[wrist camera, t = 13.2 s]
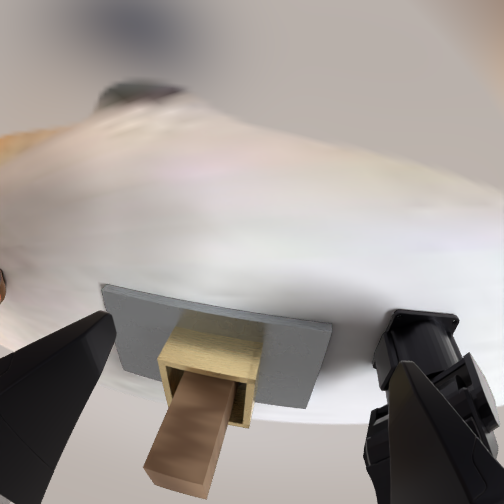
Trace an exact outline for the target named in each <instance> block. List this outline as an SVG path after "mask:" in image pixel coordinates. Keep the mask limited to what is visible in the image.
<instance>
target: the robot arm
mask: <svg viewBox="0 0 504 504" xmlns="http://www.w3.org/2000/svg"><path fill="white" fill-rule="evenodd" d="M398 316H401V317H398ZM454 320H455V321H454ZM453 321H454V322H453ZM458 324H459V318H458V317H457V316H456V315H448V314H437V313H426V312H416V311H406V310H398V311H396V312H394V314H393V316H392V319H391V321H390V323H389V326H388V328H387V331H386V332H385V333H384V334H383V335H382V337H381V340H380V342H379V344H378V347H377V349H376V351H375V353H374V357H375V358H374V360H373V362H372V364H373V368H375V369H377V374H378V381H379V387H380V389H381V390H382V391H386V398H387V404H386V405H385V406H383V407H381V408H376V409H374V410H372V411H371V416H370V421H369V426H368V432H367V437H366V442H365V446H364V455H363V458H364V460H365V464H366V470H367V472H368V474H369V476H370V478H371V480H372V482H373V485H374V488H375V491H376V496H377V502H378V504H504V468H503V467H502V466H501V465H500V464H499V462H498V461H497V460H496V458H497V454H498V445H497V441H496V438H495V435H494V432H493V430H494V429H496V428H497V427H499V426H500V423H499V418H498V412H497V408H496V403H495V399H494V396H493V394H492V392H491V389H490V387H489V385H488V382H487V380H486V378H485V376H484V374H483V373H482V371H481V370H480V368H479V366H478V365H477V363H476V362H475V360H474V358H473V357H472V355H471V354H470V352H469V353H467V354H466V355H464V356H463V357H464V358H462V355H461V353H460V351H459V348H458V346H457V344H456V342H455V340H454V337H453V333H454V331H455V329H456V327H457V325H458ZM116 335H117V332H116V328H115V324H114V320H113V316H112V315H111V313H109V312H105V311H97V312H95V313H93V314H91V315H89V316H87V317H85V318H83V319H81V320H79V321H76V322H74V323H72V324H70V325H68V326H66V327H64V328H62V329H60V330H58V331H56V332H54V333H52V334H50V335H48V336H45V337H43V338H41V339H39V340H37V341H35V342H33V343H31V344H29V345H27V346H25V347H23V348H21V349H19V350H17V351H15V353H14V352H13V353H11V354H9V355H7V356H5V357H2V358H0V504H9V503H10V502H13V503H15V504H41V502H42V499H43V497H44V494H45V492H46V489H47V487H48V484H49V482H50V480H51V477H52V475H53V473H54V470H55V468H56V465H57V463H58V461H59V459H60V457H61V454H62V452H63V450H64V448H65V446H66V444H67V441H68V439H69V437H70V435H71V433H72V431H73V429H74V427H75V425H76V422H77V421H78V419H79V416H80V414H81V412H82V410H83V409H84V407H85V405H86V402H87V401H88V399H89V397H90V395H91V393H92V391H93V389H94V387H95V385H96V383H97V381H98V379H99V377H100V375H101V373H102V371H103V369H104V366H105V364H106V361H107V359H108V356H109V354H110V351H111V349H112V347H113V344H114V342H115V339H116Z"/></svg>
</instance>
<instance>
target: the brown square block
mask: <svg viewBox="0 0 504 504" xmlns="http://www.w3.org/2000/svg"><path fill="white" fill-rule="evenodd" d="M238 384H239V382H237V381H232V380H226V379H221V378H216V377H212V376H207V375H202V374H198V373H193V372H189V371H185V372H184V374H183V376H182V378H181V381H180V383H179V385H178V388H177V390H176V392H175V394H174V397H173V399H172V401H171V404H170V406H169V408H168V410H167V413H166V415H165V417H164V420H163V422H162V424H161V427H160V429H159V431H158V434H157V436H156V438H155V441H154V443H153V445H152V448H151V450H150V452H149V455H148V457H147V459H146V462H145V464H144V467H143V468H144V470H145V471H146V473H147V474H148V475H149V477H150V479H151V480H152V481H153V483H154V484H155V485H157V486H160V487H163V488H166V489H170V490H173V491H176V492H179V493H183V494H187V495H190V496H194V497H198V498H202V499H207V496H208V493H209V489H210V486H211V482H212V479H213V476H214V472H215V468H216V465H217V461H218V458H219V454H220V451H221V447H222V443H223V440H224V436H225V432H226V429H227V425H228V422H229V418H230V414H231V411H232V407H233V403H234V399H235V396H236V392H237V388H238Z"/></svg>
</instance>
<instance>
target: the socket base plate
mask: <svg viewBox="0 0 504 504" xmlns="http://www.w3.org/2000/svg"><path fill="white" fill-rule="evenodd" d="M101 291H102V295H103V299H104V303H105V308H106V311H107V312H109V313H111V315H112V316H113V320H114V324H115V328H116V332H117V335H116V339H115V344H116V347H117V351H118V354H119V357H120V360H121V363H122V366H123V369H124V370H125V371H128V372H131V373H134V374H138V375H141V376H144V377H148V378H151V379H154V380H158V381H161V382H162V383H163V387H164V391H165V396H166V400H167V404H168V408H169V406H170V404H171V401H172V399H173V397H174V394H175V392H176V390H177V388H178V385H179V383H180V381H181V378H182V376H183V374H184V372H185V371H189V372H193V373H198V374H202V375H207V376H212V377H216V378H221V379H226V380H232V381H237V382H239V384H238V388H237V392H236V396H235V399H234V403H233V407H232V411H231V414H230V418H229V422H228V425H232V426H238V427H243V428H249V426H250V422H251V417H252V412H253V408H254V403H255V402H257V403H264V404H270V405H277V406H285V407H293V408H301V409H306V407H307V404H308V401H309V399H310V396H311V393H312V391H313V388H314V385H315V382H316V379H317V376H318V374H319V371H320V368H321V365H322V362H323V359H324V356H325V353H326V350H327V347H328V343H329V340H330V337H331V334H332V324H331V323H323V322H315V321H307V320H299V319H292V318H285V317H278V316H271V315H265V314H258V313H252V312H246V311H240V310H234V309H228V308H222V307H216V306H211V305H205V304H200V303H194V302H189V301H184V300H178V299H173V298H168V297H163V296H159V295H154V294H149V293H144V292H140V291H135V290H130V289H126V288H121V287H117V286H113V285H108V284H107V285H106V286H105V287H104V288H103V289H102V290H101Z"/></svg>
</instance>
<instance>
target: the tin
mask: <svg viewBox="0 0 504 504" xmlns="http://www.w3.org/2000/svg"><path fill="white" fill-rule="evenodd" d="M5 294H6V287H5V283H4V280H3V277H2V272H1V270H0V304H1V302H2V301H3V300H4V298H5Z"/></svg>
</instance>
